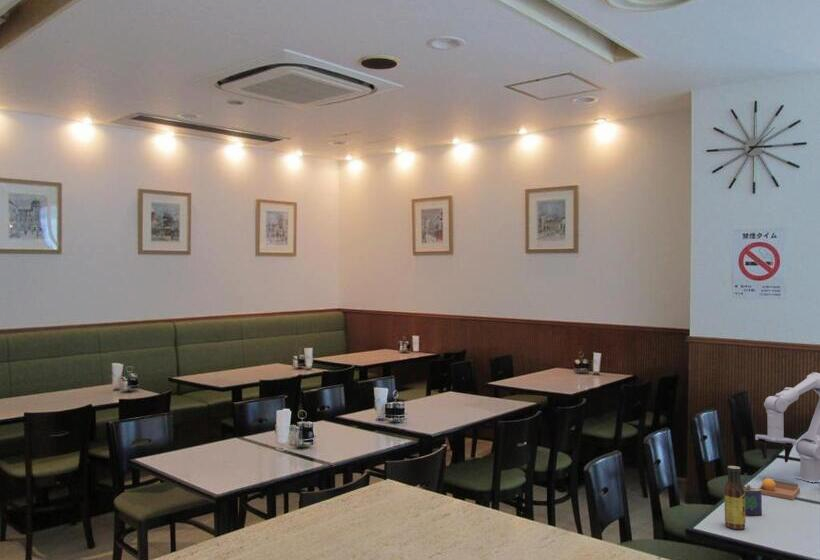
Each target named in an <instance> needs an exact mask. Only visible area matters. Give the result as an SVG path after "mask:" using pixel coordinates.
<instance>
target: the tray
mask: <svg viewBox="0 0 820 560" xmlns="http://www.w3.org/2000/svg"><path fill="white" fill-rule="evenodd" d="M756 489H761V490H762V496H766V495H767V496H768V497H772V498H773V497H774V498H777V499H783V500H787V501H794V500H795V498H797V496H799V494H800V493H801V488H800V487H799V486H798V487H792V486H786V485H781V484H776V487H775V489H774V490H771V491H768V490H766V489H765V488H764V487H763V485H762V484H761V485H760V486H758V487H757V488H756ZM767 496H766V497H767Z"/></svg>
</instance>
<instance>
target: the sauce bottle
mask: <svg viewBox="0 0 820 560" xmlns="http://www.w3.org/2000/svg"><path fill="white" fill-rule="evenodd" d="M726 468H727V474H728V475H727V482H726V484H725V485H724V495H723V497H724V498H723V499H724V522H725V526H726V527H727V528H729V529H733V530H743V529H745V528H746V516H745V491H744V488H745V487H744V485H743V483H742V480H741V472H742V469H741V467H740V466H736V465H727V467H726Z"/></svg>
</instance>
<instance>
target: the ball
mask: <svg viewBox="0 0 820 560" xmlns="http://www.w3.org/2000/svg"><path fill="white" fill-rule="evenodd" d="M766 478H767V479H764V478H763V481H762V482H761V485H763V487H764V488H765V489H766V490H768V491H771V490H774V489H775V487H776V484H775V482H774V481H773V480H772V479H773V478H769V477H766Z"/></svg>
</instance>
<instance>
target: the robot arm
mask: <svg viewBox="0 0 820 560" xmlns="http://www.w3.org/2000/svg"><path fill="white" fill-rule="evenodd" d="M811 390H813V391H814V392H815V393H816V394H817V395H818V396H819V399H818V402H817V403H816V404H817V405H816V407H815V410H814V414H813V416H812V419H811V422H810V425H809V427H808V430H807V432H806V433H804V434H802V435H801V436H800V438H799V440H798V441H797V439H794V438H790V437H785V436H784V435H785V433H784V430H785V429H784V428H785V427H784V425H785V423H784V412H785V411H786V410H787V409H788V407H789V406H790V405H791V404H793V403H794V402H796V401H798V400H799V398H800V395H803V394H805V393H806V392H808V391H811ZM763 406H764V408H765V413H766V414H767V419H766V420H767V421H766V423H767V434H755V439H754V440H755V441H757V444H758V446H759V448H760V450H761V452H762V453H761V454H762V456H763V459H764V460H766V459H767V457H768V451H767V447H768V446H767V445H768V442H770V443H771V442H772V443H778V444H783V447H784V463H788V462H789V457H790V454H791V452H792V449H793V447H794V446H795V451H796V453H797V454H798V456H799V458H800V463H799V464H800V465H799V466H800V475H799V476H795V479H798V480H800V479H801V480H800V481H804V480H805V481H804V482H807V481H809V482H808V483H811V482H813V483H812V484H815V483H814V482H818V481H819V480H820V373H819V372H816V371H815V372H814V371H813V372H811V373H810V374H807V375H806V378H805V379H803V380H802V381H801V382H799V383H798V384H797V385H795V386H794V387H784V389H783V390H782V391H780V392H777V393H775V395H771V396H770V395H769V396H767V397H766V398H765V401H764V402H763ZM818 483H819V482H818Z"/></svg>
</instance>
